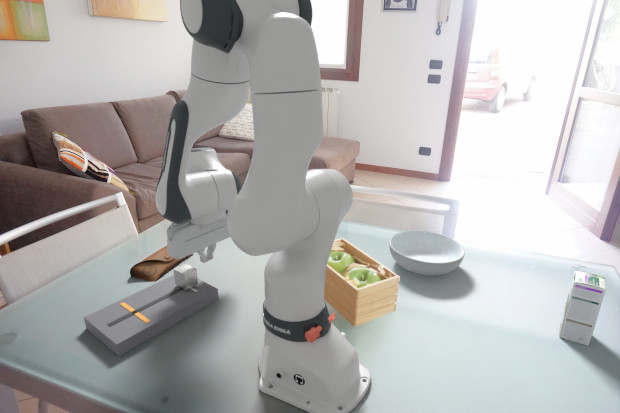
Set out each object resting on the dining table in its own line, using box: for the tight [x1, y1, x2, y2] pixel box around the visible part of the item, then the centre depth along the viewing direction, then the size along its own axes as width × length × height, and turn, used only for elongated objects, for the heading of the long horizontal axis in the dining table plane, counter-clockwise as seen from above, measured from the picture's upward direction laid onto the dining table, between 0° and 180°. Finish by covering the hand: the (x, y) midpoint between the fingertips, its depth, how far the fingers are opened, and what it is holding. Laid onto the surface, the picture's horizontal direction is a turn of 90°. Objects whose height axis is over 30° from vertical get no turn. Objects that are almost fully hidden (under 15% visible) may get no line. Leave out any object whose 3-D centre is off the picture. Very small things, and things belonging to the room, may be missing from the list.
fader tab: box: [172, 263, 199, 290], centre depth 101 cm, size 4×4×4 cm
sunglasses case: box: [129, 245, 194, 283], centre depth 118 cm, size 18×7×7 cm
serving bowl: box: [388, 229, 465, 276], centre depth 118 cm, size 21×21×7 cm
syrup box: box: [559, 270, 606, 347], centre depth 89 cm, size 6×6×14 cm
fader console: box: [83, 274, 220, 357], centre depth 96 cm, size 14×26×3 cm, turn 142°
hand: (206, 260), depth 106 cm, fingers closed
